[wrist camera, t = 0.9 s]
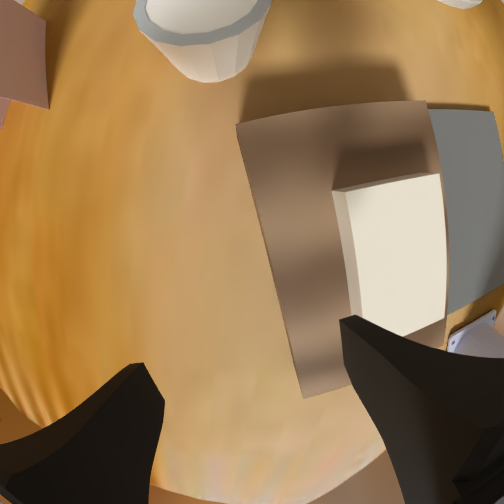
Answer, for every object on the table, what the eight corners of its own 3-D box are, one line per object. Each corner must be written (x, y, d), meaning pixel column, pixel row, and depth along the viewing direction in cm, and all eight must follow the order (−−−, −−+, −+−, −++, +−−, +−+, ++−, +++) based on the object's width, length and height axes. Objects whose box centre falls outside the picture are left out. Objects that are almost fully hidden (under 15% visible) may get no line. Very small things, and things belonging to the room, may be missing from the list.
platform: (419, 323, 21) (443, 345, 17) (294, 366, 21) (303, 399, 17) (395, 111, 16) (425, 100, 13) (236, 136, 17) (235, 124, 13)
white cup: (153, 86, 16) (113, 45, 9) (180, 12, 14) (159, -42, 7) (251, 98, 16) (256, 54, 9) (270, 22, 15) (283, -36, 8)
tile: (428, 305, 16) (444, 317, 14) (353, 334, 16) (364, 351, 14) (419, 172, 14) (439, 173, 12) (331, 190, 14) (344, 192, 12)
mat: (501, 280, 21) (505, 282, 20) (423, 321, 21) (427, 324, 20) (489, 112, 16) (493, 111, 16) (400, 111, 16) (404, 109, 16)
